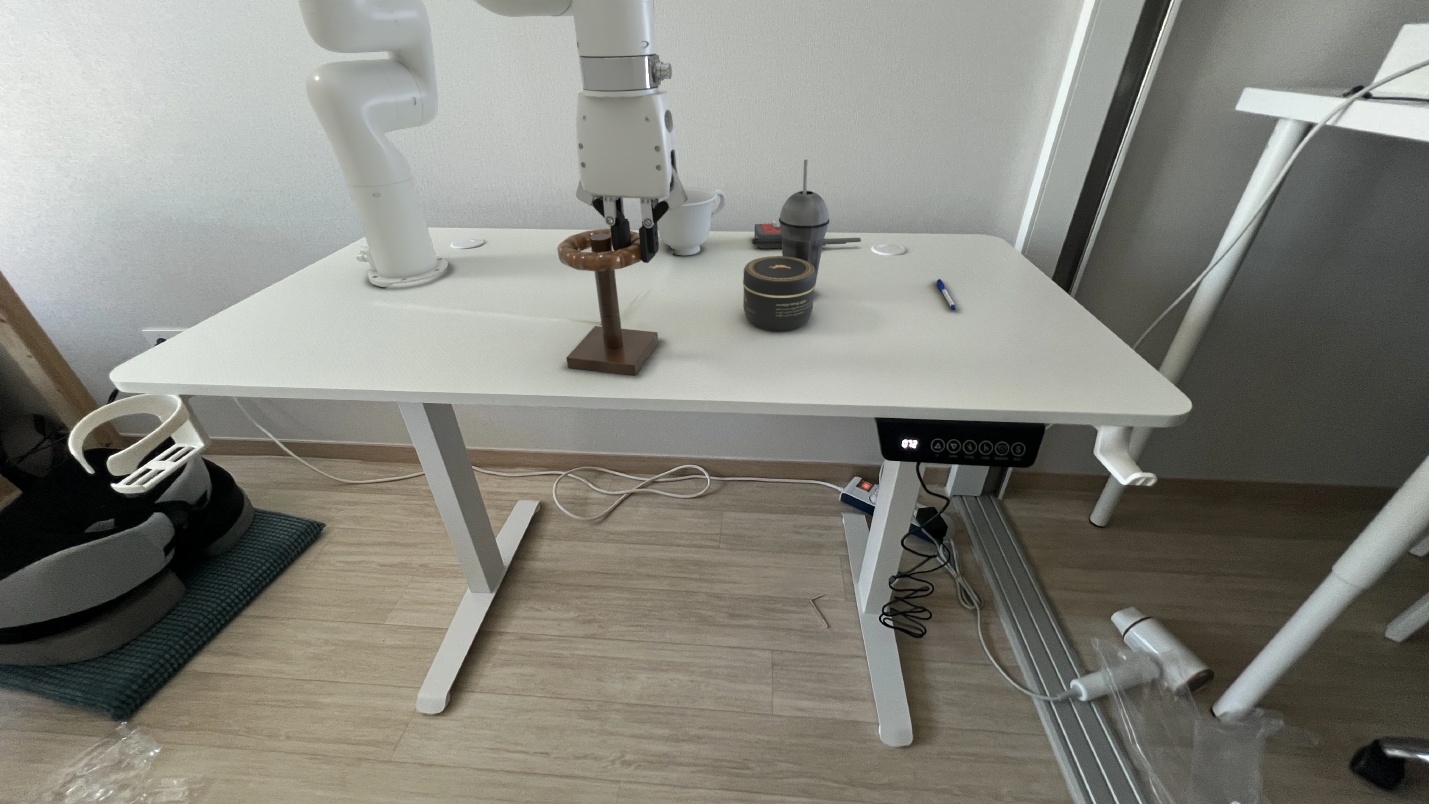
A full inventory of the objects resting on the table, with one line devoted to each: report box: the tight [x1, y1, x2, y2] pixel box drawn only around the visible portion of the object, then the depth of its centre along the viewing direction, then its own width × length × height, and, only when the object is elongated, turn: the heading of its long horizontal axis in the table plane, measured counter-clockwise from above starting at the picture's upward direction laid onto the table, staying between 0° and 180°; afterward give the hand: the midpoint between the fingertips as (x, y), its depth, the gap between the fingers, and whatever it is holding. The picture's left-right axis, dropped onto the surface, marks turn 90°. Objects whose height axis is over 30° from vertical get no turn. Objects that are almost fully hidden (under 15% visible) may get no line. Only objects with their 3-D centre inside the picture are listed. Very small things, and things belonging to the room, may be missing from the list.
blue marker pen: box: [936, 278, 956, 311], centre depth 90 cm, size 10×1×1 cm, turn 176°
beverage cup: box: [778, 159, 830, 286], centre depth 86 cm, size 7×7×20 cm
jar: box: [742, 255, 817, 332], centre depth 82 cm, size 10×10×8 cm
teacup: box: [657, 186, 727, 256], centre depth 107 cm, size 12×15×10 cm
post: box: [566, 234, 659, 376], centre depth 72 cm, size 9×9×16 cm
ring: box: [556, 228, 642, 272], centre depth 68 cm, size 10×10×2 cm
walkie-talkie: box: [751, 219, 862, 250], centre depth 110 cm, size 9×4×20 cm
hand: (636, 256), depth 68 cm, fingers closed on ring, 2 cm apart
